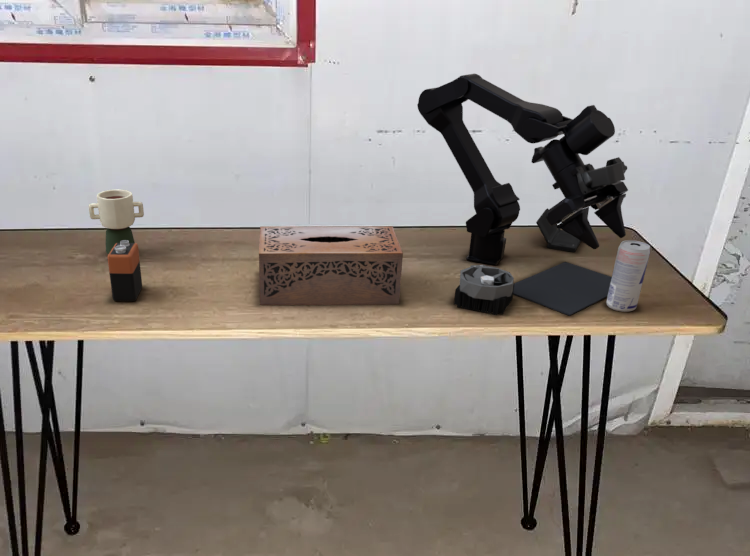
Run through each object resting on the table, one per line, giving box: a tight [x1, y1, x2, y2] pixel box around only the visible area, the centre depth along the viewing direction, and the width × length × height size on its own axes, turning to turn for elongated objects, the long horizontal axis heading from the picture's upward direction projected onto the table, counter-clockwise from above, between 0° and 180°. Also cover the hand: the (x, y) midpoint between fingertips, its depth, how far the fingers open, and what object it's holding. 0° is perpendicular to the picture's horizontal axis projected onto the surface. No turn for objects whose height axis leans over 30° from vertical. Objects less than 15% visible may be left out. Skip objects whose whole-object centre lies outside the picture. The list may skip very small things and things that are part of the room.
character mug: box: [88, 188, 145, 255], centre depth 160 cm, size 11×7×13 cm, turn 100°
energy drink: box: [605, 239, 651, 313], centre depth 141 cm, size 5×5×12 cm
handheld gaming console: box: [535, 207, 582, 253], centre depth 172 cm, size 12×7×10 cm
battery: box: [107, 240, 143, 302], centre depth 143 cm, size 4×7×10 cm, turn 179°
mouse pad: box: [513, 261, 612, 317], centre depth 151 cm, size 15×22×1 cm
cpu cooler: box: [453, 264, 515, 316], centre depth 143 cm, size 10×6×10 cm
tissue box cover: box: [258, 225, 404, 306], centre depth 147 cm, size 26×14×10 cm, turn 92°
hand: (610, 242), depth 141 cm, fingers open, 9 cm apart
